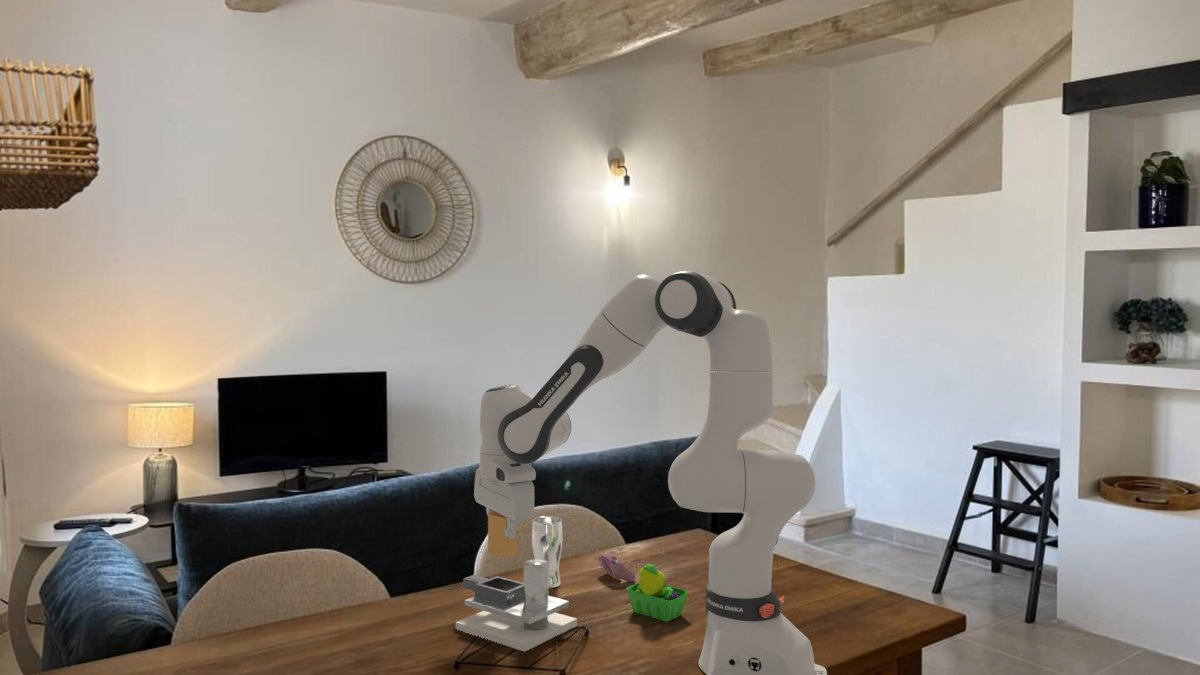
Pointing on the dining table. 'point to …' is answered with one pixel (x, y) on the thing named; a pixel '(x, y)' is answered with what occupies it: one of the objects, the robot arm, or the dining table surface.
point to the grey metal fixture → (517, 596)
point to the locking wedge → (500, 537)
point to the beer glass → (548, 545)
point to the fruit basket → (656, 595)
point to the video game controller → (615, 567)
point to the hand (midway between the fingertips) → (502, 533)
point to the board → (514, 629)
